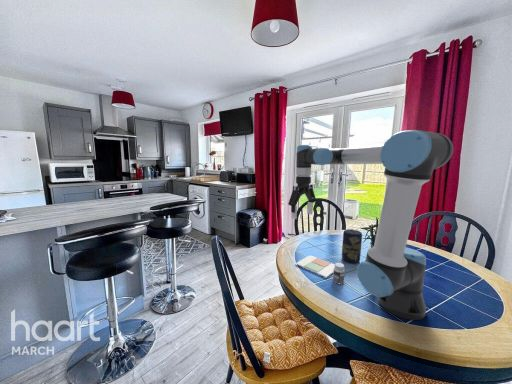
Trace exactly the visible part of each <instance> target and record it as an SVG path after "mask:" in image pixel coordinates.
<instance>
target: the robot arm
mask: <svg viewBox="0 0 512 384" xmlns="http://www.w3.org/2000/svg"><path fill="white" fill-rule="evenodd" d="M295 153H296V168H295V170H296V171H295V175H296V176H295V183H296V184H297V185H293V186H292V191H291V195H290V198H289V200H288V203H287V204H288V205H287V206H291V207H290V212H291V219H293V220H297V217H298V216H297V215H298V213H297V212H298V206H297V204H298V203H299V200H300V199H301V196H303V195H305V197H306V199H307V200H308V202H307V212H306V213H307V214H308V215H313V208H314V203H316V196H315V191H314V185H313V184H311V183H312V177H311V176H312V165H313V166H314V165H316V166H327V165H382V166H383V167H384V171H383V175H384V176H385V178H386V179H387V184H386V190H385V194H384V198H383V203H382V208H381V211H380V212H381V213H380V216H379V217H380V218H379V221H378V225H377V229H376V230H377V231H376V233H375V234H376V235H375V238H374V244H373V246H372V247H370V248H368V249H367V252H366V257H365V260H364V261H361V262H360V263H358V265H357V267H356V275H357V279H358V281H359V282H360V284H361V285H362V287H363V289H365V291H367V292H368V293H369V294H371V295H372V296H374V297H377V300H378V303H379V305H380V306H381V307H382V308H383V309H384V310H386V311H387V312H388V313H390V314H391V315H394V316H396V317H398V318H401V319H405V320H408V321H409V320H410V321H419V320H420V321H421V320H423V319H424V318H425V317H426V314H427V307H426V302H425V299H424V296H423V287H424V281H425V272H426V266H427V257H426V255H425V254H424V253H422V252H421V251H418V250H416V249H413V248H410V247H407V243H408V239H409V236H410V232H411V228H412V223H413V222H414V217H415V213H416V208H417V205H418V201H419V198H420V195H421V190H422V186H423V185H424V184H425V183H428V182H429V181H430V180H431V179H432V176H433V175H432V174H433V171H434V170H437V169H438V168H441V167H443V166H444V165H446V164H447V163H448V162H449V160H450V159H451V158H452V155H453V153H454V145H453V142H452V141H451V139H450V138H449V137H448V136H447V135H445V134H442V133H439V132H435V131H425V130H419V129H418V130H417V129H412V130H409V129H408V130H402V131H399V132H396V133H395V134H392V136H390V137H388V138H387V140H385V142H384V143H383V144H377V145H365V146H355V147H345V148H328V147H319V148H318V147H316V148H313V146H312V145H310V144H299V145H297V147H296V152H295Z"/></svg>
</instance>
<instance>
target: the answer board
mask: <svg viewBox="0 0 512 384" xmlns="http://www.w3.org/2000/svg"><path fill="white" fill-rule="evenodd" d="M296 264H298V265H300V266H302V267H304V268H306V269H308V270H311V271H313V272H315V273H317V274H320V275H322V276H324V277H326V278H327V277H328V276H329V275H331V274H332V273H333V272H334V267H335V264H336V263H335V264H334V263H332V262H330V261H327V260H324V259H322V258H319V257H316V256H313V255H311V254H310V255H308V256H306V257H304V258H303V259H300V260H299V261H297V262H296V263H295V265H296ZM304 268H303V269H304ZM306 269H305V270H306ZM308 270H307V271H308ZM315 273H314V274H315ZM317 274H316V275H317ZM332 275H333V274H332ZM332 275H331V276H332ZM324 277H323V278H324ZM329 277H330V276H329ZM329 277H328V278H329ZM326 278H325V279H326ZM328 278H327V279H328Z"/></svg>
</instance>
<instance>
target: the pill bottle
mask: <svg viewBox="0 0 512 384" xmlns="http://www.w3.org/2000/svg"><path fill="white" fill-rule="evenodd" d="M345 275H346V274H345V264H343V263H341V262H336V263H335V267H334V273H333V274H332V276H333V277H332V281H333V282H334V283H335V282H336V283H340V284H339V285H343V284H344V283H345ZM336 283H335V284H336ZM342 283H343V284H342Z"/></svg>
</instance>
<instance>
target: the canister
mask: <svg viewBox="0 0 512 384" xmlns="http://www.w3.org/2000/svg"><path fill="white" fill-rule="evenodd" d="M342 232H343V234H342V245H341V247H342V248H341V258H342V260H343V261H345V262H348V263H352V264H357V263H358V264H359V262H360V261H361V255H362V254H361V253H362V240H363V233H362V232H361V231H360V230H357V229H353V228H351V229H350V228H349V229H344V230H343V231H342Z"/></svg>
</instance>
